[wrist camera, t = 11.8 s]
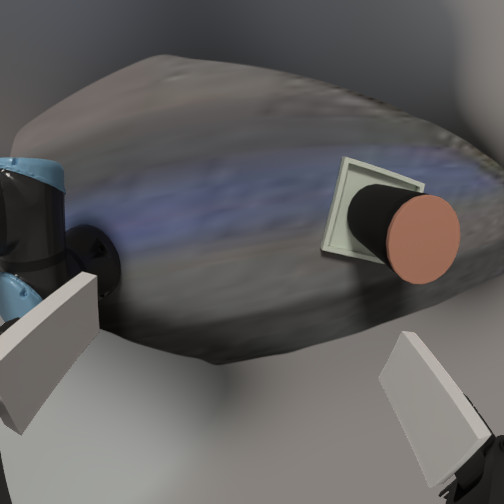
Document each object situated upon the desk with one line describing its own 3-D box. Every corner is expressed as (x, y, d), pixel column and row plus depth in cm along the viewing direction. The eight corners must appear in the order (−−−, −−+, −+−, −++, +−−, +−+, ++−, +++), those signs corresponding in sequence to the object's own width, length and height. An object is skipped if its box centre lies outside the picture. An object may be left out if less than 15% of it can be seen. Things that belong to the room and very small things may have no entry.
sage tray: (320, 247, 48) (322, 250, 47) (342, 157, 44) (345, 156, 42) (397, 264, 49) (401, 268, 47) (419, 183, 44) (424, 184, 42)
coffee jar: (390, 250, 47) (443, 291, 30) (337, 237, 47) (375, 276, 30) (407, 193, 44) (469, 210, 27) (353, 175, 44) (403, 182, 27)
